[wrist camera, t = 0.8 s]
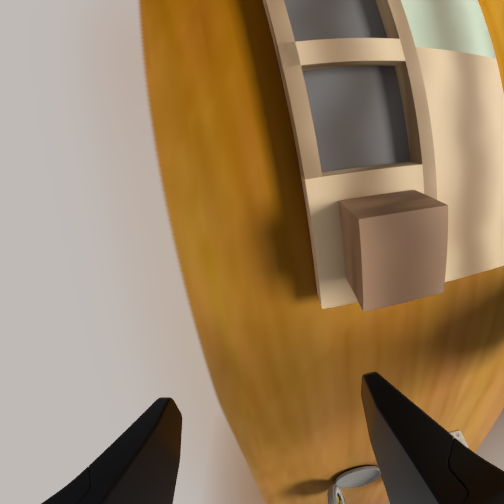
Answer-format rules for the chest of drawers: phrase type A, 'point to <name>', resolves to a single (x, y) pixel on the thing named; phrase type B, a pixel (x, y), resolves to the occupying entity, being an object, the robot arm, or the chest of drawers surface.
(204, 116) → the chest of drawers surface
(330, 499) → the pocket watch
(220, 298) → the chest of drawers surface
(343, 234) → the walnut block
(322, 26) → the board
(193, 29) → the chest of drawers surface
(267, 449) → the chest of drawers surface
